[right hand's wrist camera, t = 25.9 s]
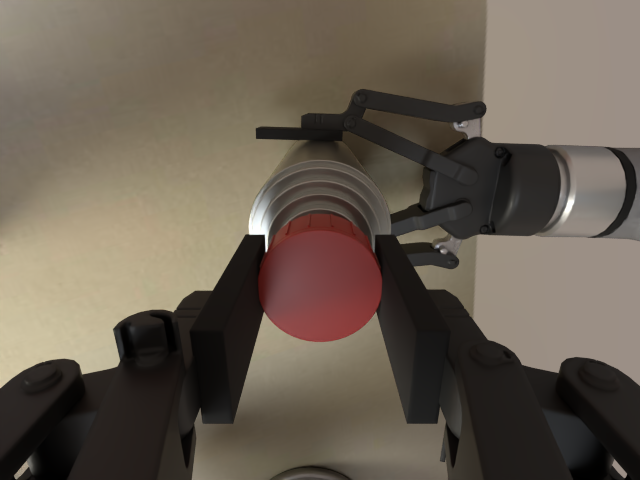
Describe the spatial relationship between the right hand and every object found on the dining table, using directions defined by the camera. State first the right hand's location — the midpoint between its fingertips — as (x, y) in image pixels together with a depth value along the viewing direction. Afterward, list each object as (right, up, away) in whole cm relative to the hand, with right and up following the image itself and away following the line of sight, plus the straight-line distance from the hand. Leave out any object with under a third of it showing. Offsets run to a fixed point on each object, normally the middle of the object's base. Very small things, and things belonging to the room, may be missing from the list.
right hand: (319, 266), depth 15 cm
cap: (0, -1, -2) cm, 2 cm away
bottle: (0, +8, +21) cm, 23 cm away
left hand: (-5, +6, +15) cm, 17 cm away
